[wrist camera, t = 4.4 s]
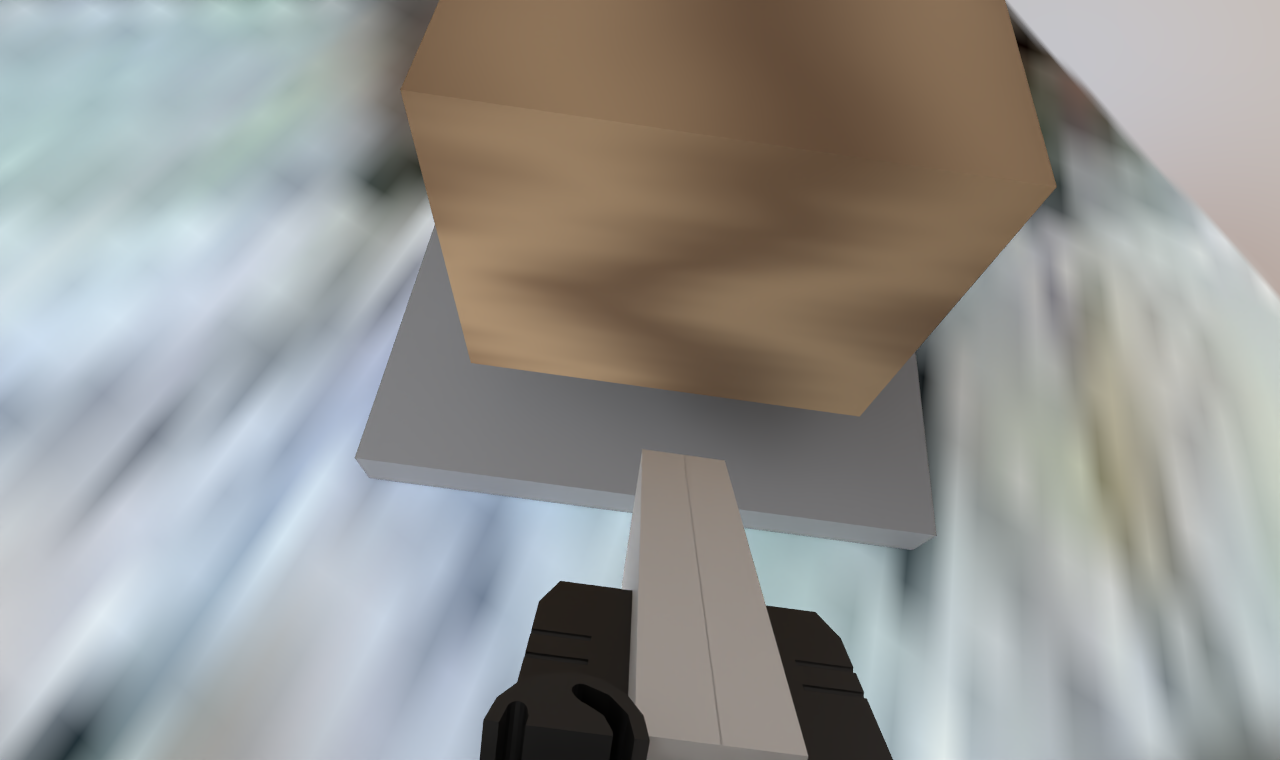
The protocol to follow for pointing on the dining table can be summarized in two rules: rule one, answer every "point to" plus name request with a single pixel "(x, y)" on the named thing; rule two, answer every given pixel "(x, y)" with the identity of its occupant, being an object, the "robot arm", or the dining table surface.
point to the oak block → (721, 184)
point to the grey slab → (638, 436)
